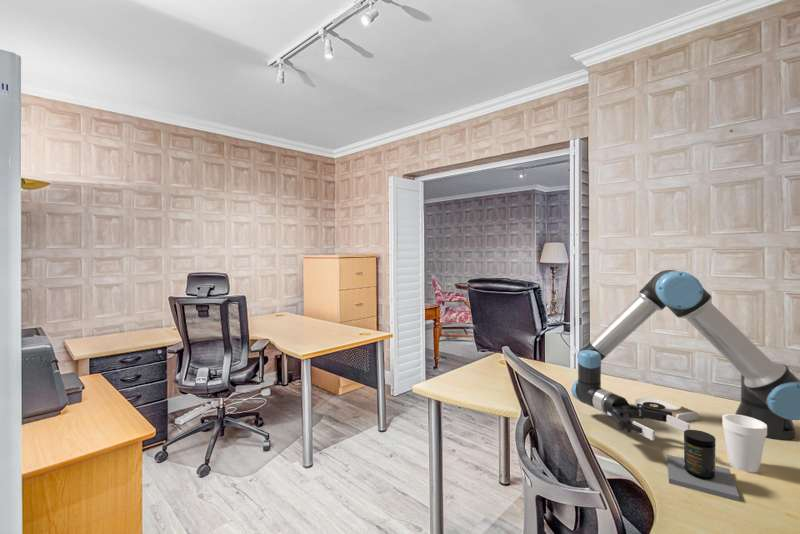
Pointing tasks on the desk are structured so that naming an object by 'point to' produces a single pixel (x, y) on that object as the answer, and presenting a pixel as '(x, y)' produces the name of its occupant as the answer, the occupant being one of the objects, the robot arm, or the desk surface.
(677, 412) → the record player
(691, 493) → the desk surface
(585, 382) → the robot arm
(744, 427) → the foam cup
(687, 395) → the desk surface
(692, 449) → the supplement container
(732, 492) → the mat
